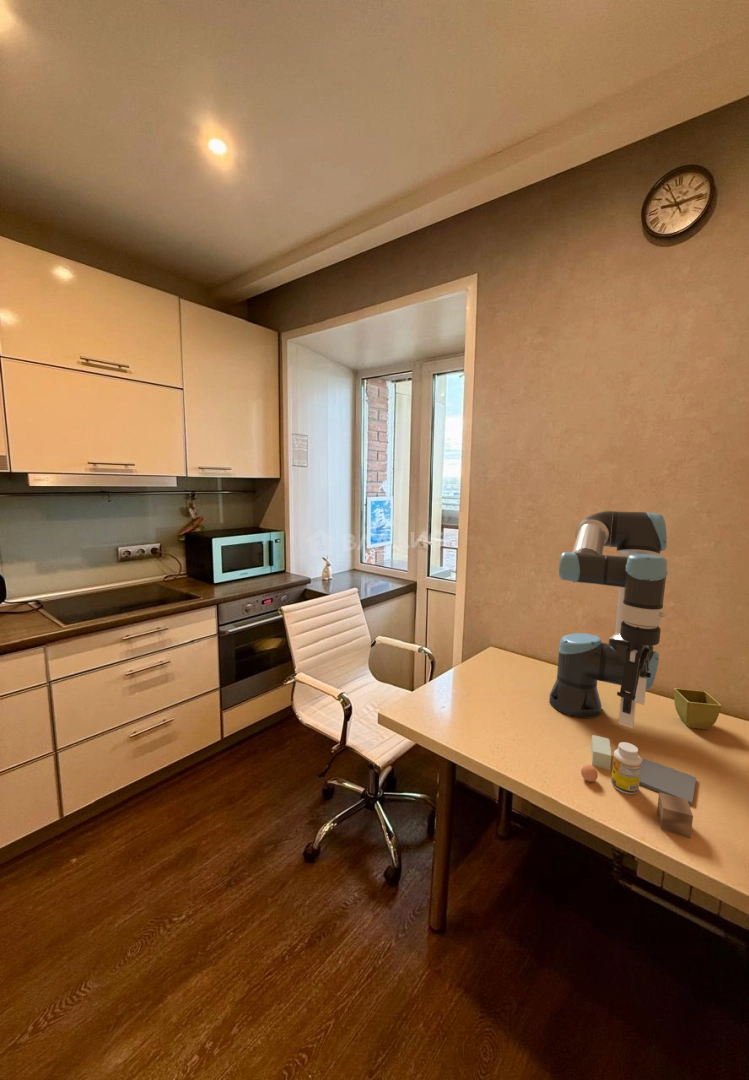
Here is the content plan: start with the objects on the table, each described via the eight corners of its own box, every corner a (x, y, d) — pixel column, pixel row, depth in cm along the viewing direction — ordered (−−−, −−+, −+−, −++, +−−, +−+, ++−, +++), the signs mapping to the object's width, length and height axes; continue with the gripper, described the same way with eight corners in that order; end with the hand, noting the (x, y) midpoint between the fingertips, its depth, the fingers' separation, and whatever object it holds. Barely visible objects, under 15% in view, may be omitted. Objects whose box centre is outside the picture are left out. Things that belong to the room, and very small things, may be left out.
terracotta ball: (578, 780, 101) (579, 766, 101) (582, 772, 104) (583, 759, 103) (594, 787, 99) (596, 773, 98) (598, 779, 102) (600, 765, 101)
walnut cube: (660, 829, 87) (663, 807, 86) (656, 813, 91) (659, 792, 91) (690, 838, 85) (693, 816, 84) (684, 821, 89) (687, 799, 89)
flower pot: (718, 734, 121) (722, 705, 120) (684, 730, 123) (688, 701, 122) (702, 718, 130) (705, 690, 129) (670, 715, 132) (673, 687, 130)
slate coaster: (634, 782, 101) (634, 779, 101) (642, 760, 109) (643, 757, 109) (691, 805, 94) (692, 802, 93) (695, 780, 102) (696, 777, 102)
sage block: (591, 765, 107) (593, 751, 106) (591, 748, 114) (592, 734, 114) (609, 770, 105) (611, 755, 105) (607, 752, 112) (609, 738, 112)
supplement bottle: (613, 776, 103) (617, 736, 102) (640, 786, 99) (644, 746, 98) (608, 788, 99) (612, 747, 97) (636, 799, 95) (640, 757, 94)
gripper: (651, 642, 82) (641, 743, 85) (668, 615, 101) (659, 699, 103) (608, 633, 87) (600, 729, 90) (632, 609, 106) (624, 689, 108)
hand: (631, 713), depth 97 cm, fingers open, 13 cm apart
